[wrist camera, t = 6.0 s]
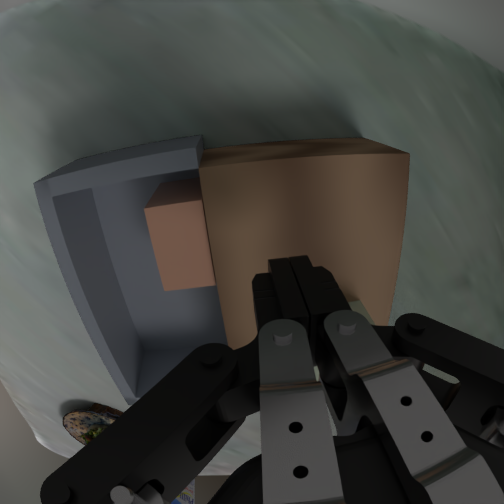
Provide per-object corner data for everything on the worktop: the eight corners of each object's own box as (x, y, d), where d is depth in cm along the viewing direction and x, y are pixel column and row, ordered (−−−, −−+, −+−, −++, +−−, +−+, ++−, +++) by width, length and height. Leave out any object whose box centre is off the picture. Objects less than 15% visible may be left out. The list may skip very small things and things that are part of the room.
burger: (84, 388, 29) (69, 442, 23) (166, 431, 34) (163, 481, 27) (54, 418, 32) (41, 461, 26) (123, 453, 37) (118, 494, 30)
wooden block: (363, 137, 20) (409, 153, 15) (352, 318, 27) (377, 364, 22) (203, 149, 19) (198, 168, 14) (232, 338, 27) (237, 391, 21)
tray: (202, 134, 19) (195, 147, 14) (234, 345, 27) (239, 398, 22) (76, 160, 18) (33, 183, 13) (139, 354, 27) (128, 404, 21)
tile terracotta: (201, 199, 15) (143, 208, 15) (216, 285, 17) (164, 291, 17) (205, 176, 20) (160, 183, 19) (215, 245, 22) (173, 251, 22)
